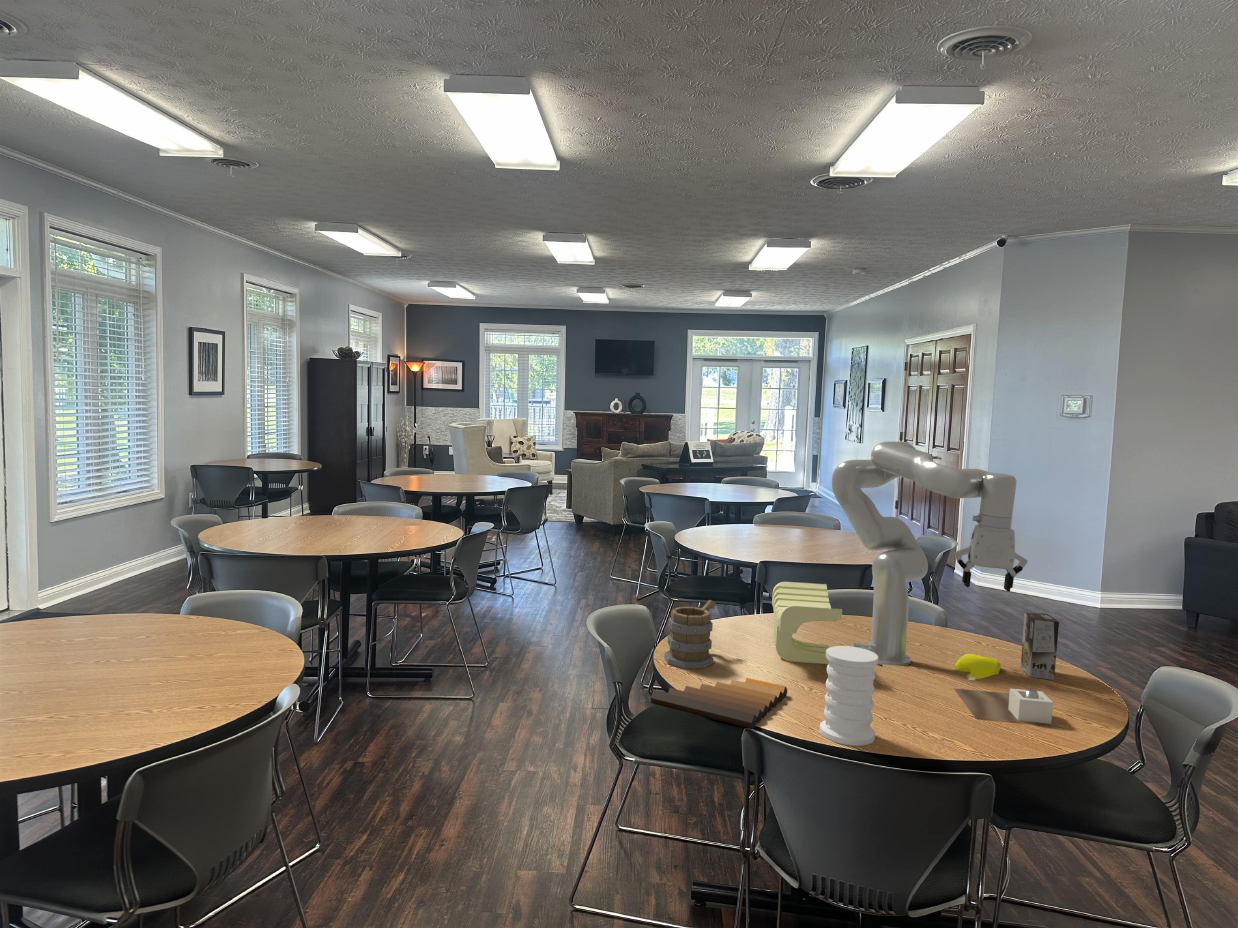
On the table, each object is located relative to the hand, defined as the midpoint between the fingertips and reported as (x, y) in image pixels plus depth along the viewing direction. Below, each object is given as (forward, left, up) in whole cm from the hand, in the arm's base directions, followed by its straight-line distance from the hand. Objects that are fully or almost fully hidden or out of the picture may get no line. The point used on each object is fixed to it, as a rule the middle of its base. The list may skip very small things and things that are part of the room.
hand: (986, 588), depth 199 cm
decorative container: (-37, -38, -27) cm, 60 cm away
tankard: (-73, +5, -27) cm, 78 cm away
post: (+6, -20, -25) cm, 33 cm away
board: (+2, -15, -27) cm, 31 cm away
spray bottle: (+2, +12, -27) cm, 30 cm away
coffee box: (+21, +19, -27) cm, 39 cm away
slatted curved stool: (-43, +17, -27) cm, 54 cm away
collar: (+5, -20, -25) cm, 33 cm away
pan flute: (-65, -24, -28) cm, 75 cm away
